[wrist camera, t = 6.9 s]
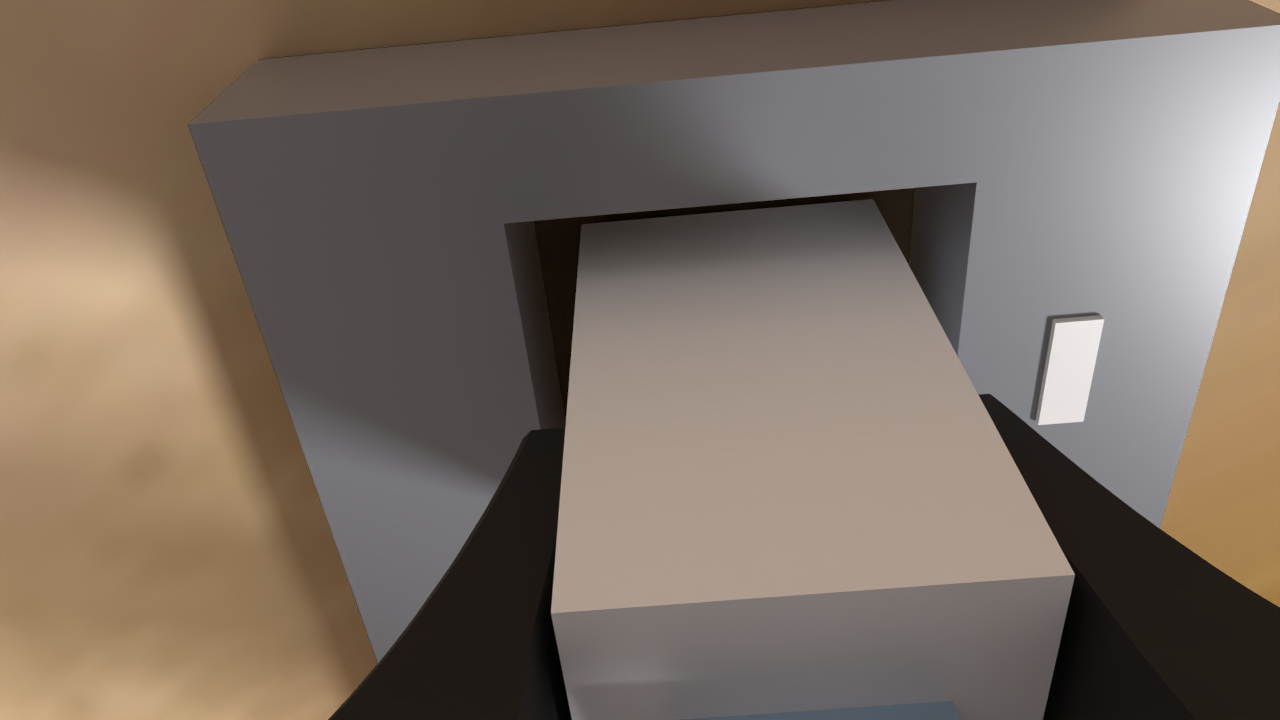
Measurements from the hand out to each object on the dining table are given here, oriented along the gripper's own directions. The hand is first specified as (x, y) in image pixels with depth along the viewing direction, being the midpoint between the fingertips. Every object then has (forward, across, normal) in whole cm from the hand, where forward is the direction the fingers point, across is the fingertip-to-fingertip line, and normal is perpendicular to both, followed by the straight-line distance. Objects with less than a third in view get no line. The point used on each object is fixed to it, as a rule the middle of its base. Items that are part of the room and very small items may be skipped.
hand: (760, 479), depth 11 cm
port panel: (+4, 0, +4) cm, 6 cm away
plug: (+3, 0, 0) cm, 4 cm away
